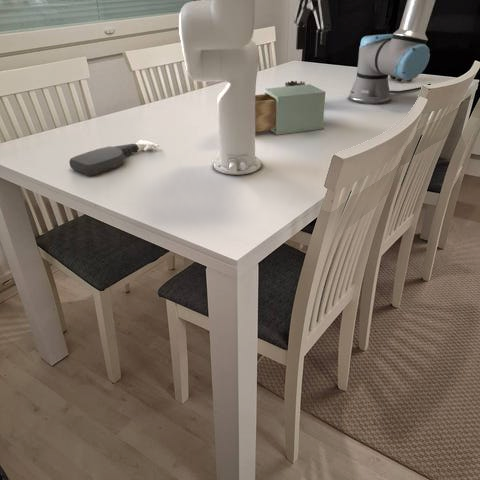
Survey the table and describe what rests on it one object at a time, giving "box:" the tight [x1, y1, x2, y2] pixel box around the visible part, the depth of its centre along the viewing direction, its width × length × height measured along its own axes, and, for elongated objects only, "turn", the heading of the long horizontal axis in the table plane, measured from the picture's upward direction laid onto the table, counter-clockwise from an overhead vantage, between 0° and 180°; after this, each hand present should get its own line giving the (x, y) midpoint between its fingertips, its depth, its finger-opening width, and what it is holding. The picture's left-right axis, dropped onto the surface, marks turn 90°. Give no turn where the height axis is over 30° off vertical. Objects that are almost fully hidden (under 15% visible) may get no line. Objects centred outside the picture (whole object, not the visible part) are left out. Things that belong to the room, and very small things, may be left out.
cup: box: [284, 80, 306, 87], centre depth 167 cm, size 8×7×8 cm
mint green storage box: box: [263, 83, 326, 136], centre depth 144 cm, size 16×11×12 cm
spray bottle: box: [68, 139, 160, 177], centre depth 124 cm, size 3×11×24 cm
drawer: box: [255, 93, 276, 133], centre depth 141 cm, size 21×10×10 cm, turn 108°
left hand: (235, 83), depth 134 cm, fingers closed
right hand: (309, 52), depth 136 cm, fingers open, 13 cm apart
